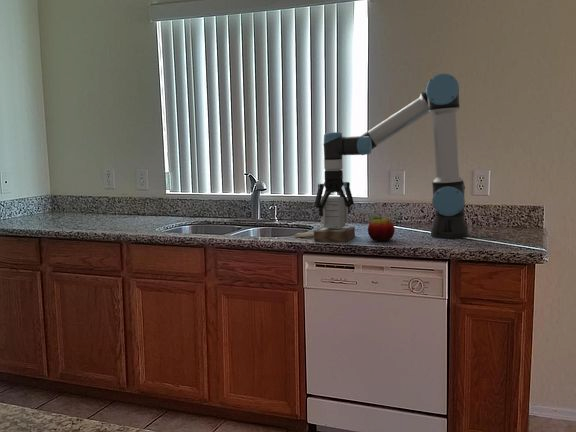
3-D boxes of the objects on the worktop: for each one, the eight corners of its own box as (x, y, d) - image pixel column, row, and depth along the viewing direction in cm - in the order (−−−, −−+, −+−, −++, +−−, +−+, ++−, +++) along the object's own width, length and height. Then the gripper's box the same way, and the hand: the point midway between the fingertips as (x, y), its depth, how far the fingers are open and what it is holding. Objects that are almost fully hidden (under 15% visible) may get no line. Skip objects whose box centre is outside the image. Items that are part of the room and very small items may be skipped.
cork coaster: (321, 236, 238) (321, 234, 238) (300, 238, 234) (300, 237, 234) (311, 233, 247) (311, 231, 247) (291, 235, 244) (291, 233, 243)
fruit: (388, 243, 217) (388, 218, 216) (363, 241, 223) (363, 217, 222) (398, 239, 226) (398, 215, 225) (373, 237, 232) (373, 214, 231)
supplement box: (329, 225, 237) (328, 196, 235) (345, 226, 234) (345, 196, 232) (323, 228, 230) (322, 198, 228) (340, 228, 227) (339, 198, 225)
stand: (354, 236, 237) (354, 226, 236) (347, 242, 224) (347, 231, 223) (323, 235, 241) (323, 225, 241) (314, 241, 228) (313, 230, 228)
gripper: (353, 168, 236) (354, 219, 239) (304, 171, 228) (306, 224, 231) (361, 168, 229) (362, 221, 232) (312, 171, 221) (313, 226, 224)
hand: (334, 223), depth 232 cm, fingers closed on supplement box, 10 cm apart
